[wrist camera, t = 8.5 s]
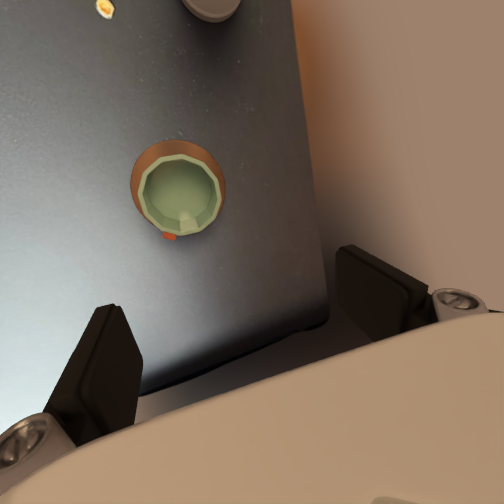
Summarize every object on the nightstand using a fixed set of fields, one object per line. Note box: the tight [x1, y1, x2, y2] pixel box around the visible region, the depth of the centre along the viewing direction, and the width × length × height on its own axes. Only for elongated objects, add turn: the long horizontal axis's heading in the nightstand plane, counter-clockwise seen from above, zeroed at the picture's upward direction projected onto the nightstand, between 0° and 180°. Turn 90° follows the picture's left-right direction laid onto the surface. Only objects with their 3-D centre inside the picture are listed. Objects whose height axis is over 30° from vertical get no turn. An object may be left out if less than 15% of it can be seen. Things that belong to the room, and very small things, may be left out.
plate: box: [131, 140, 225, 225], centre depth 28 cm, size 10×10×1 cm
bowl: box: [138, 154, 222, 241], centre depth 25 cm, size 8×7×5 cm
